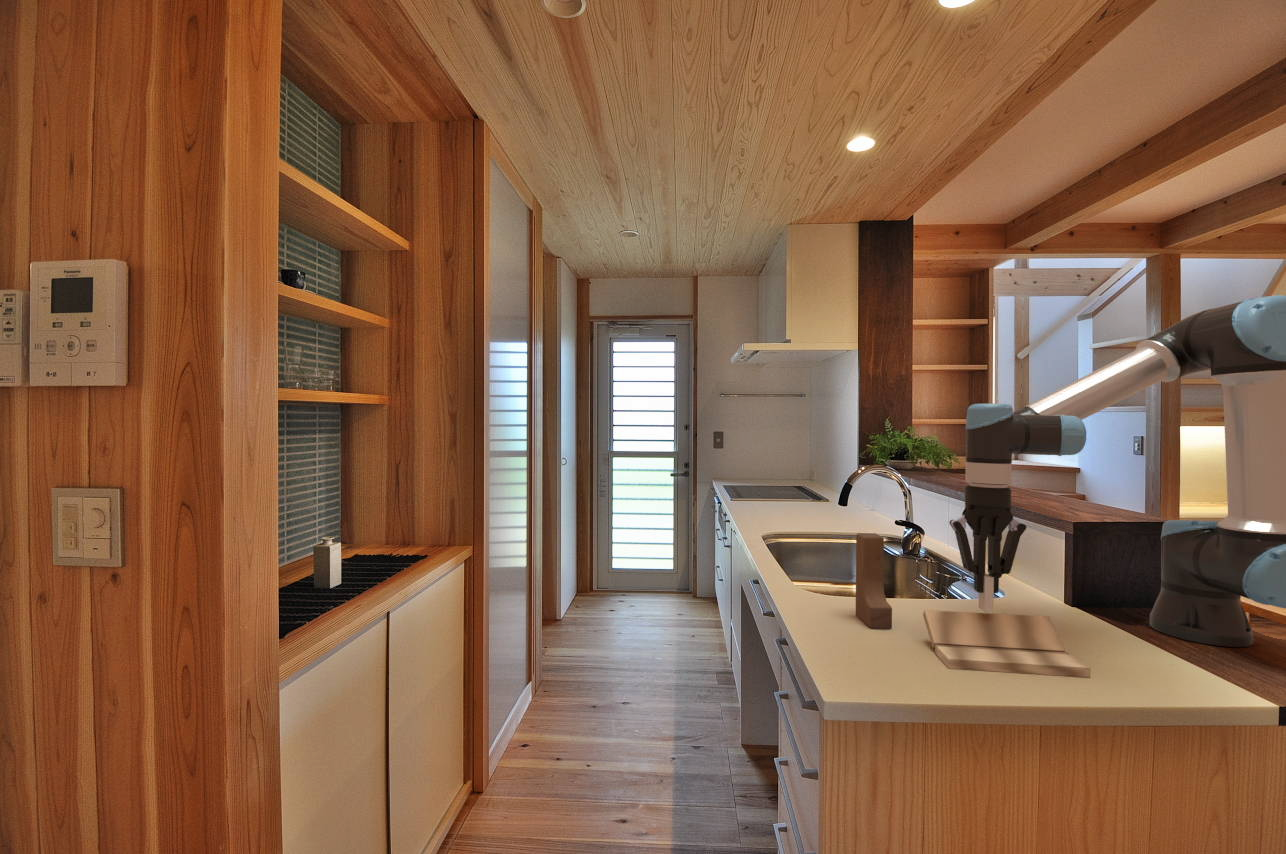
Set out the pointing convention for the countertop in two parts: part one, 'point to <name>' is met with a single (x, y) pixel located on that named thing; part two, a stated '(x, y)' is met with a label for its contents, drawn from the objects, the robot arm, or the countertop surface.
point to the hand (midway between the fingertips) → (985, 609)
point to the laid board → (1011, 660)
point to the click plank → (992, 631)
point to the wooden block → (871, 582)
